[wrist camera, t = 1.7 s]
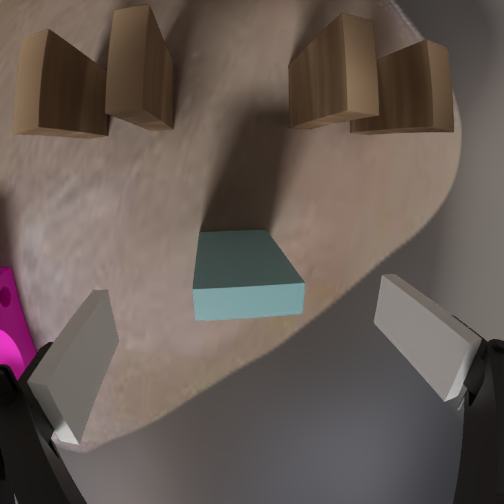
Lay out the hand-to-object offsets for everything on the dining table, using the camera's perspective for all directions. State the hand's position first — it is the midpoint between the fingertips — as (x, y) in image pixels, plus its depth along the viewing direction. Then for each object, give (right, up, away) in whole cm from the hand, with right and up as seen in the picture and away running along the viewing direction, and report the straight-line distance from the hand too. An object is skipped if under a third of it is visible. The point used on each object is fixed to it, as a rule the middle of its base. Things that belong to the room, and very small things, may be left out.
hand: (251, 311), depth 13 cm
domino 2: (-6, +14, +5) cm, 16 cm away
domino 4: (+4, +14, +7) cm, 16 cm away
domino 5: (+9, +14, +7) cm, 18 cm away
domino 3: (-1, +4, +9) cm, 10 cm away
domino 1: (-11, +14, +5) cm, 18 cm away
